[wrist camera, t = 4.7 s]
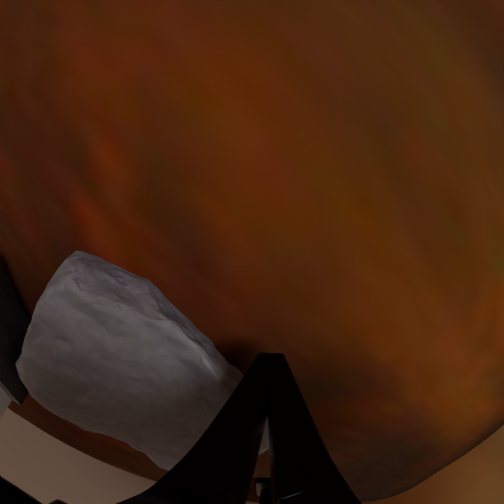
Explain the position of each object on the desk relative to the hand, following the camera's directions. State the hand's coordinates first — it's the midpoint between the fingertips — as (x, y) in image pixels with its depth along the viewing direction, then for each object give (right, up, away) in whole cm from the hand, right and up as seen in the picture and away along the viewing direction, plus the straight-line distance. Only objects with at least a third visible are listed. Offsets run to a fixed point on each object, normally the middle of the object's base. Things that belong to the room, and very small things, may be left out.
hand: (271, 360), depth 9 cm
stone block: (-5, -1, +3) cm, 6 cm away
